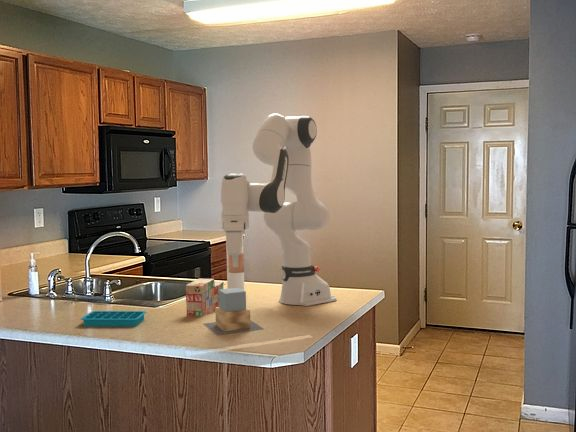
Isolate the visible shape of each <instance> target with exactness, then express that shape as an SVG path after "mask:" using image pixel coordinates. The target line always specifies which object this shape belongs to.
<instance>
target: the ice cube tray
mask: <svg viewBox="0 0 576 432" xmlns="http://www.w3.org/2000/svg"><path fill="white" fill-rule="evenodd" d="M146 314H147V311H145V310H94V311H93V310H92V311H89V313H87V314H85V315H83V316H82V317H81V318H80V320H81V321H83V326H84V327H136V326H138V325H140V323H142V322H143V321H144V320H145V315H146ZM141 321H142V322H141Z"/></svg>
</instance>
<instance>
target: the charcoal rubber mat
mask: <svg viewBox="0 0 576 432" xmlns="http://www.w3.org/2000/svg"><path fill="white" fill-rule="evenodd" d="M203 325H204V327H206V328H207V329H208V330H209V331H211V332H212V333H213V334H214V335H216V336H218V337H219V336H225V335H226V336H227V335H233V334H238V333H246V332H254V331H262V330H265V328H264V327H262V326H261V325H259V324H257V323H256V322H254V321H252V320H251V319H250V325H251V328H246V329H238V330H231V331H223V330H222V329H221V328H219V327H218V326H217V325H216V321H215V322H214V321H211V322H207V323H203Z"/></svg>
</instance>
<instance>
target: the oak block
mask: <svg viewBox="0 0 576 432" xmlns="http://www.w3.org/2000/svg"><path fill="white" fill-rule="evenodd" d="M214 314H215V322H216V325H217V326H218V327H219V328H221V329H222V330H223V331H231V330H238V329H246V328H251V325H250V320H251V310H250V309H249V308H248V307H246V310H239V311H230V312H225V311H224V310H222V309H221V308H219V307H215V311H214Z"/></svg>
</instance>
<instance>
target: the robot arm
mask: <svg viewBox="0 0 576 432" xmlns="http://www.w3.org/2000/svg"><path fill="white" fill-rule="evenodd" d="M317 132H318V131H317V124H316V122H315V119H313V117H311V116H307V115H301V116H298V115H297V116H295V115H293V116H284V115H281V114H279V113H271V114H269V115H267V117H265V118H264V120H263V122H262V123H261V125H260V126H259V128H258V129H257V132H256V134H255V137H254V139H253V142H252V151H253V154H254V156H255V157H256V159H258V160H259V161H260V162H262V163H263V164H265V165H268V166H271V167H272V174H271V179H270V180H269V181H267V182H250V181H248V180H247V175H246V174H245V173H242V172H233V173H228V174H225V175H224V176H223V177H222V180H221V188H220V203H221V206H222V207H221V208H222V209H221V216H220V217H221V230H223V232H225V242H226V241H227V249H228V254H229V255H232V262H233V267H238V256H239V255H240V252H241V249H242V246H243V247H244V239H243V240H242V234H243V235H244V234H246V230H248V229H249V227H250V224H249V223H250V222H249V220H250V219H249V215H250V214H249V212H256V213H258V212H261V213H262V212H263V220H264V223H265V226H267V228H269V229H270V230H272V231H273V233H274V234H275V235H276V237H277V238H278V240H279V243H280V245H281V254H282V257H281V258H282V265H281V280H282V281H281V282H282V283H281V284H282V285H281V293H280V297H279V303H281V304H286V305H291V306H294V305H295V306H304V307H308V306H309V307H310V306H313V305H318V304H323V303H325V304H326V303H331V302H336V301H337V296H336V295H335V294H332V293H331V289H330V285H329V283H328V282H326V281H325V280H324V279H322V277H320V276H319V275H317V273H320V267H319V266H318V265H317V266H316V265H315V266H314V265H313V264H312V251H311V249H312V248H311V245H310V244H309V243H308V242H307V240H304V239H303V238H301V237H299V236H298V234H297V231H319V230H322V229H325V228H326V226H327V225H328V222H329V219H330V213H329V210H328V208H327V206H326V205H325V204H324V203H323V202H322V201H320V200H319V199H318V197H317V196H316V194H315V192H314V189H313V183H312V153H311V145H312V144H313V143H314V141H315V139H316V137H317ZM286 191H288V192H289V193H291V194H293V195H295V197H296V201H286V199H285V198H286V197H285V196H286V195H285V193H286ZM316 272H317V273H316Z"/></svg>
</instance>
